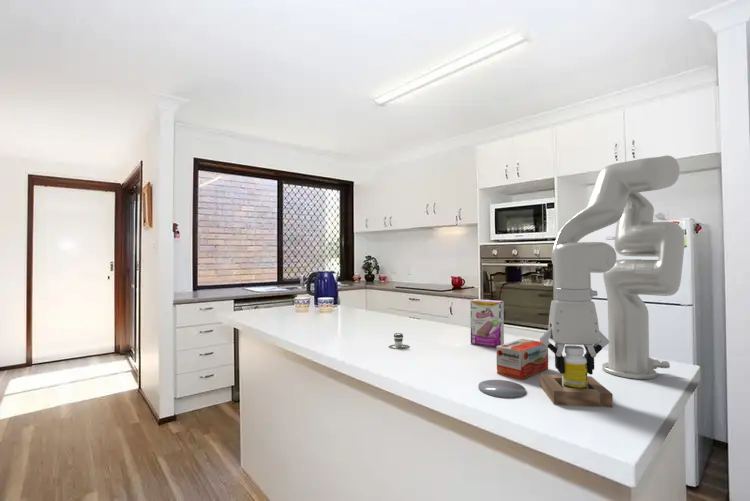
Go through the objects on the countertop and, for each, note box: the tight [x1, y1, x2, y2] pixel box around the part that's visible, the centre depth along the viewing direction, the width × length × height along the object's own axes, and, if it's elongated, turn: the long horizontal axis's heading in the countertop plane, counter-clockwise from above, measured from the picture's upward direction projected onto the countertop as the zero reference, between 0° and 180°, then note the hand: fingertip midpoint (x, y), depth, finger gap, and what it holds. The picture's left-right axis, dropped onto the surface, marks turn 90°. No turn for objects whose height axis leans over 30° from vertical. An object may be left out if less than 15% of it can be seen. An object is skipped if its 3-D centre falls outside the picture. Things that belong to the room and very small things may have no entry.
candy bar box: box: [470, 298, 505, 348], centre depth 141 cm, size 11×5×16 cm, turn 58°
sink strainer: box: [388, 332, 410, 350], centre depth 139 cm, size 12×12×5 cm
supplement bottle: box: [561, 345, 588, 389], centre depth 90 cm, size 5×5×10 cm
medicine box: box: [495, 338, 549, 381], centre depth 109 cm, size 15×8×8 cm, turn 131°
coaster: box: [477, 379, 526, 399], centre depth 94 cm, size 11×11×1 cm
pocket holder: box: [539, 373, 614, 409], centre depth 90 cm, size 12×12×3 cm
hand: (574, 371), depth 90 cm, fingers closed on supplement bottle, 5 cm apart
